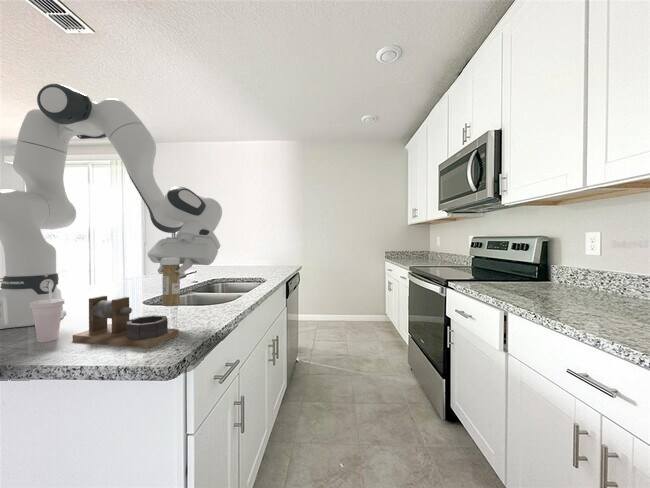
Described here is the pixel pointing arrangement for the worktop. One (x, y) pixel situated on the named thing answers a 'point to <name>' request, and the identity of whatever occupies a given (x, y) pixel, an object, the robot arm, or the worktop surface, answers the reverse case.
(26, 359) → the worktop surface
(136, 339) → the winch stand
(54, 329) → the smoothie
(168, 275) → the pill bottle
